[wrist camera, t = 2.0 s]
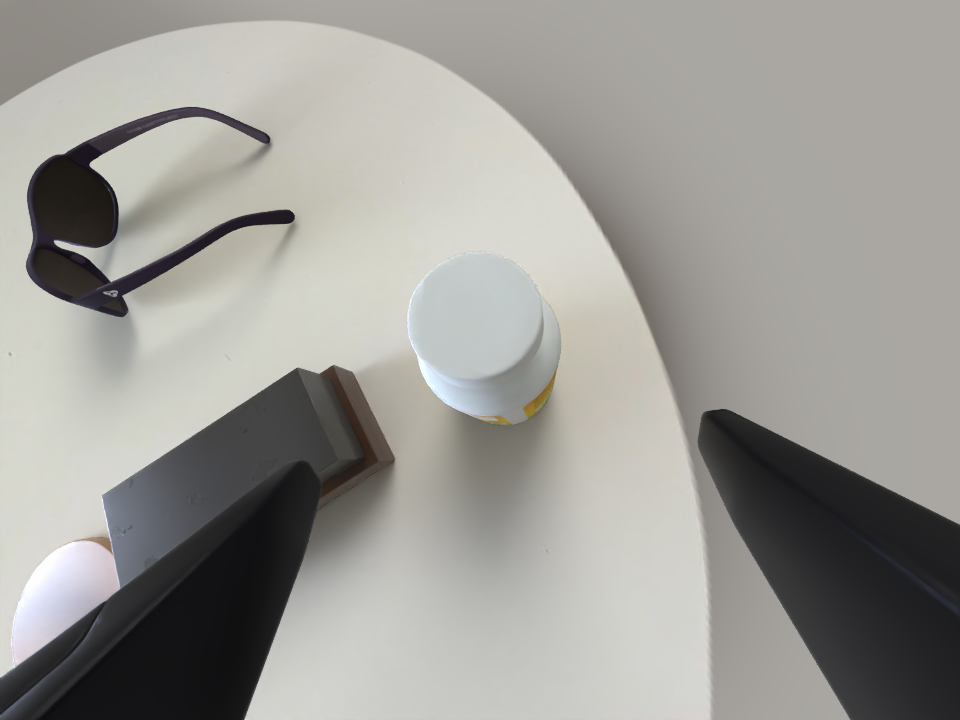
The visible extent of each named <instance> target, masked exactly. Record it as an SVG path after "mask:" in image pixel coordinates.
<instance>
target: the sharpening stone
mask: <svg viewBox="0 0 960 720" xmlns="http://www.w3.org/2000/svg"><path fill="white" fill-rule="evenodd" d="M302 459H303V460H306V461H308V462H309V463H310V465H311V466H312V468H313V469H314V471H315V472H316V474H317V475H318V477H319V478H320V480H321V483H322V492H321V496H320V500H319V503H318V507H317V510H318V509H319V508H321V507H322V506H324V505H325V504H327V503H329V502H330V501H332V500H333V499H335V498H336V497H338V496H339V495H341V494H343V493H344V492H346V491H347V490H349V489H350V488H352V487H353V486H355V485H357V484H358V483H360V482H361V481H363V480H364V479H366V478H368V477H369V476H371V475H372V474H374V473H375V472H377V471H378V470H380V469H382V468H383V467H385V466H386V465H388V464H389V463H391V462H392V461H394V460H395V458H394V456H393V454H392V452H391V450H390V447H389V445H388V443H387V441H386V439H385V437H384V435H383V433H382V431H381V429H380V427H379V425H378V423H377V421H376V419H375V417H374V415H373V413H372V411H371V409H370V407H369V405H368V403H367V401H366V399H365V397H364V394H363V392H362V390H361V388H360V386H359V384H358V382H357V380H356V378H355V376H354V374H353V372H351V371H348V370H346V369H343V368H340V367H338V366H335V365H333V366H331V367H329V368H328V369H326V370H325V371H323V372H322V373H320V374H318V373H314V372H311V371H308V370H305V369H301V368H296V369H294V370H293V371H291V372H290V373H288V374H287V375H285V376H284V377H282V378H281V379H279V380H278V381H276V382H275V383H273V384H272V385H270V386H269V387H267V388H265V389H264V390H262V391H261V392H259V393H258V394H256V395H255V396H253V397H252V398H250V399H249V400H247V401H246V402H244V403H243V404H241V405H240V406H238V407H236V408H235V409H233V410H232V411H230V412H229V413H227V414H226V415H224V416H223V417H221V418H220V419H218V420H217V421H215V422H214V423H212V424H211V425H209V426H207V427H206V428H204V429H203V430H201V431H200V432H198V433H197V434H195V435H194V436H192V437H191V438H189V439H188V440H186V441H185V442H183V443H182V444H180V445H178V446H177V447H175V448H174V449H172V450H171V451H169V452H168V453H166V454H165V455H163V456H162V457H160V458H159V459H157V460H156V461H154V462H153V463H151V464H149V465H148V466H146V467H145V468H143V469H142V470H140V471H139V472H137V473H136V474H134V475H133V476H131V477H130V478H128V479H127V480H125V481H124V482H122V483H120V484H119V485H117V486H116V487H114V488H113V489H111V490H110V491H108V492H107V493H105V494H104V495H102V500H103V505H104V510H105V515H106V520H107V525H108V531H109V536H110V541H111V546H112V551H113V556H114V561H115V566H116V571H117V576H118V582H119V587H120V589H121V588H122V587H123V586H124V585H126V584H127V583H128V582H130V581H131V580H132V579H134V578H135V577H136V576H138V575H139V574H140V573H142V572H143V571H144V570H146V569H147V568H148V567H149V566H151V565H152V564H153V563H155V562H156V561H157V560H159V559H160V558H161V557H163V556H164V555H165V554H167V553H168V552H169V551H171V550H172V549H173V548H174V547H176V546H177V545H178V544H180V543H181V542H182V541H184V540H185V539H186V538H188V537H189V536H190V535H192V534H193V533H194V532H196V531H197V530H198V529H199V528H201V527H202V526H203V525H205V524H206V523H207V522H209V521H210V520H211V519H213V518H214V517H215V516H217V515H218V514H219V513H221V512H222V511H223V510H224V509H226V508H227V507H228V506H230V505H231V504H232V503H234V502H235V501H236V500H238V499H239V498H240V497H242V496H243V495H244V494H246V493H247V492H248V491H249V490H251V489H252V488H253V487H255V486H256V485H257V484H259V483H260V482H261V481H263V480H264V479H265V478H267V477H268V476H269V475H271V474H272V473H273V472H274V471H276V470H277V469H278V468H280V467H281V466H282V465H284V464H285V463H287V462H289V461H293V460H302Z"/></svg>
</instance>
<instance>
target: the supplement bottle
mask: <svg viewBox="0 0 960 720" xmlns="http://www.w3.org/2000/svg"><path fill="white" fill-rule="evenodd" d="M407 325H408V333H409V337H410V341H411V343H412V346H413V348H414V350H415V352H416V353H417V357H418V362H419V366H420V369H421V372H422V375H423V377H424V379H425V381H426V382H427V384H428V385H429V387H430V388H431V389H432V391H433V392H434V393H435V394H436V395H437V396H438V397H439V398H440V399H441V400H442V401H444V402H445V403H446V404H448V405H449V406H451V407H452V408H454V409H457V410H459V411H461V412H463V413H465V414H468V415H470V416H472V417H475V418H477V419H479V420H481V421H484V422H487V423H490V424H495V425H514V424H518V423H521V422H524V421H526V420H528V419H529V418H531V417H532V416H534V415H535V414H536V413H537V412H539V410H540V409H541V408H542V407H543V406H544V405H545V403H546V401H547V400H548V398H549V396H550V393H551V391H552V387H553V384H554V379H555V375H556V371H557V367H558V362H559V358H560V351H561V334H560V328H559V324H558V321H557V318H556V316H555V313H554V311H553V309H552V308H551V306H550V305H549V303H548V302H547V300H546V299H545V298H544V297H543V296H542V295H541V294H540V293H539V291H538V289H537V286H536V285H535V283H534V281H533V280H532V278H531V277H530V275H529V274H528V273H527V272H526V271H525V270H524V269H523V268H522V267H521V266H519V265H518V264H517V263H516V262H514V261H512V260H511V259H509V258H507V257H504V256H502V255H499V254H495V253H489V252H469V253H463V254H460V255H456V256H454V257H451V258H449V259H447V260H445V261H443V262H441V263H440V264H438V265H437V266H435V267H434V268H433V269H432V270H431V271H430V272H429V273H428V274H427V275H426V276H425V277H424V278H423V279H422V281H421V282H420V283H419V285H418V286H417V288H416V289H415V291H414V293H413V296H412V298H411V301H410V304H409V309H408V317H407Z"/></svg>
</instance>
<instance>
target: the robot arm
mask: <svg viewBox="0 0 960 720" xmlns="http://www.w3.org/2000/svg"><path fill="white" fill-rule="evenodd" d="M698 447H699V450H700V453H701V455H702V457H703V459H704V462H705V464H706V466H707V468H708V470H709V472H710V475H711V477H712V479H713V481H714V483H715V485H716V488H717V490H718V492H719V494H720V496H721V498H722V500H723V502H724V505H725V507H726V509H727V511H728V513H729V515H730V517H731V519H732V521H733V523H734V525H735V527H736V529H737V530H738V532H739V534H740V536H741V537H742V539H743V541H744V542H745V544H746V546H747V547H748V549H749V551H750V552H751V554H752V556H753V557H754V559H755V561H756V562H757V564H758V566H759V567H760V569H761V571H762V572H763V574H764V576H765V577H766V579H767V581H768V582H769V584H770V586H771V587H772V589H773V591H774V593H775V594H776V596H777V598H778V599H779V601H780V603H781V604H782V606H783V608H784V609H785V611H786V613H787V614H788V616H789V618H790V619H791V621H792V623H793V624H794V626H795V628H796V629H797V631H798V633H799V634H800V636H801V638H802V639H803V641H804V643H805V644H806V646H807V648H808V649H809V651H810V653H811V654H812V656H813V658H814V660H815V661H816V663H817V665H818V666H819V668H820V669H821V671H822V673H823V675H824V676H825V678H826V680H827V681H828V683H829V685H830V686H831V688H832V690H833V691H834V693H835V695H836V696H837V698H838V700H839V701H840V703H841V705H842V706H843V708H844V709H845V711H846V713H847V714H848V716H849V718H850V720H960V525H959V524H957V523H955V522H953V521H951V520H949V519H947V518H945V517H943V516H941V515H939V514H937V513H935V512H933V511H931V510H929V509H927V508H925V507H923V506H921V505H919V504H917V503H915V502H913V501H911V500H909V499H907V498H905V497H903V496H901V495H899V494H897V493H895V492H893V491H891V490H889V489H887V488H885V487H883V486H881V485H879V484H876V483H875V482H873V481H871V480H869V479H867V478H865V477H863V476H861V475H859V474H857V473H855V472H853V471H850V470H849V469H847V468H845V467H843V466H841V465H839V464H837V463H834V462H832V461H830V460H828V459H826V458H824V457H822V456H820V455H818V454H816V453H814V452H812V451H810V450H808V449H806V448H804V447H802V446H800V445H798V444H796V443H794V442H792V441H790V440H788V439H786V438H784V437H782V436H780V435H778V434H776V433H774V432H772V431H770V430H768V429H766V428H764V427H762V426H760V425H758V424H756V423H754V422H752V421H750V420H748V419H746V418H744V417H742V416H740V415H738V414H736V413H734V412H732V411H729V410H726V409H720V410H712V411H706V412H704V413H703V415H702V417H701V423H700V429H699V435H698ZM321 492H322V483H321V480H320V478H319V477H318V475H317V474H316V472H315V471H314V469H313V468H312V466H311V465H310V463H309V462H308V461H306V460H303V459H302V460H293V461H289V462H287V463H285V464H284V465H282V466H281V467H280V468H278V469H277V470H276V471H274V472H273V473H272V474H271V475H269V476H268V477H267V478H265V479H264V480H263V481H261V482H260V483H259V484H257V485H256V486H255V487H253V488H252V489H251V490H249V491H248V492H247V493H246V494H244V495H243V496H242V497H240V498H239V499H238V500H236V501H235V502H234V503H232V504H231V505H230V506H228V507H227V508H226V509H224V510H223V511H222V512H221V513H219V514H218V515H217V516H215V517H214V518H213V519H211V520H210V521H209V522H207V523H206V524H205V525H203V526H202V527H201V528H199V529H198V530H197V531H196V532H194V533H193V534H192V535H190V536H189V537H188V538H186V539H185V540H184V541H182V542H181V543H180V544H178V545H177V546H176V547H174V548H173V549H172V550H171V551H169V552H168V553H167V554H165V555H164V556H163V557H161V558H160V559H159V560H157V561H156V562H155V563H153V564H152V565H151V566H149V567H148V568H147V569H146V570H144V571H143V572H142V573H140V574H139V575H138V576H136V577H135V578H134V579H132V580H131V581H130V582H128V583H127V584H126V585H124V586H123V587H122V588H121V589H119V590H118V591H117V592H115V593H114V594H113V595H111V596H110V597H109V598H108V600H107V601H104V602H102V603H101V604H99V605H98V606H97V607H95V608H94V609H93V610H91V611H90V612H89V613H88V614H86V615H85V616H84V617H82V618H81V619H80V620H78V621H77V622H76V623H74V624H73V625H72V626H70V627H69V628H68V629H66V630H65V631H64V632H62V633H61V634H60V635H58V636H57V637H56V638H54V639H53V640H52V641H50V642H49V643H47V644H46V645H45V646H43V647H42V648H41V649H39V650H38V651H37V652H35V653H34V654H33V655H31V656H30V657H28V658H27V659H26V660H24V661H23V662H21V663H20V664H19V665H17V666H16V667H14V668H13V669H12V670H10V671H9V672H8V673H6V674H5V675H3V676H2V677H1V678H0V720H244V719H245V716H246V714H247V711H248V708H249V705H250V703H251V700H252V697H253V694H254V692H255V689H256V686H257V684H258V681H259V678H260V675H261V673H262V670H263V667H264V664H265V662H266V659H267V656H268V654H269V651H270V648H271V645H272V643H273V640H274V637H275V634H276V632H277V629H278V626H279V624H280V621H281V618H282V615H283V613H284V610H285V607H286V604H287V602H288V599H289V596H290V594H291V591H292V588H293V585H294V583H295V580H296V577H297V574H298V572H299V569H300V566H301V563H302V560H303V558H304V555H305V551H306V548H307V544H308V541H309V537H310V533H311V530H312V526H313V522H314V518H315V515H316V511H317V507H318V503H319V500H320V496H321Z"/></svg>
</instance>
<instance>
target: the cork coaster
mask: <svg viewBox="0 0 960 720" xmlns="http://www.w3.org/2000/svg"><path fill="white" fill-rule="evenodd" d="M119 589H120V587H119V582H118V576H117V571H116V566H115V561H114V556H113V551H112V546H111V541H110V540H107V539H103V538H87V539H82V540H77V541H74V542H71V543H68V544H66V545H64V546H62V547H60V548H59V549H57V550H56V551H54V552H53V553H52V554H51V555H49V556H48V557H47V558H46V559H45V560H44V561H43V562H42V563H41V564H40V566H39V567H38V568H37V569H36V571H35V572H34V574H33V575H32V577H31V578H30V580H29V581H28V583H27V585H26V587H25V589H24V591H23V593H22V596H21V598H20V601H19V604H18V606H17V610H16V614H15V618H14V623H13V630H12V653H13V660H14V664H15V667H16V666H17V665H19V664H20V663H21V662H23V661H24V660H26V659H27V658H28V657H30V656H31V655H33V654H34V653H35V652H37V651H38V650H39V649H41V648H42V647H43V646H45V645H46V644H47V643H49V642H50V641H52V640H53V639H54V638H56V637H57V636H58V635H60V634H61V633H62V632H64V631H65V630H66V629H68V628H69V627H70V626H72V625H73V624H74V623H76V622H77V621H78V620H80V619H81V618H82V617H84V616H85V615H86V614H88V613H89V612H90V611H91V610H93V609H94V608H95V607H97V606H98V605H99V604H101V603H102V602H104V601H107V600H108V598H109V597H110V596H111V595H113V594H114V593H115V592H117V591H118V590H119Z"/></svg>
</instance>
